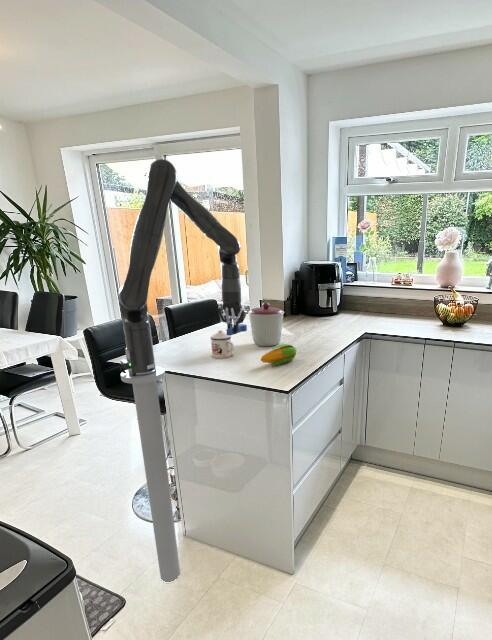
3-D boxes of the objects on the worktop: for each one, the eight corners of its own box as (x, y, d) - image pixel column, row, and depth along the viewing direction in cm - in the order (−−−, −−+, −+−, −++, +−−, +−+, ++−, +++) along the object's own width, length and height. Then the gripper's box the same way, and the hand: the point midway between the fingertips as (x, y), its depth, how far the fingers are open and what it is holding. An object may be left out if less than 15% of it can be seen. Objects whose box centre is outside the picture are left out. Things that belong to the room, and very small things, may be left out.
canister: (270, 350, 191) (269, 306, 184) (241, 345, 199) (239, 303, 192) (291, 343, 205) (291, 301, 198) (263, 338, 214) (262, 299, 207)
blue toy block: (232, 335, 159) (232, 329, 158) (224, 334, 160) (224, 329, 160) (248, 330, 170) (248, 324, 169) (240, 329, 171) (240, 323, 170)
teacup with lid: (207, 356, 180) (205, 330, 176) (222, 352, 187) (220, 327, 183) (226, 360, 174) (224, 334, 170) (240, 356, 181) (239, 330, 177)
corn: (300, 342, 173) (267, 351, 159) (301, 359, 175) (268, 369, 161) (288, 341, 177) (254, 349, 163) (289, 357, 180) (256, 367, 166)
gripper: (211, 290, 156) (213, 333, 162) (241, 292, 151) (243, 336, 157) (221, 288, 163) (224, 330, 168) (251, 290, 158) (252, 333, 163)
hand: (233, 333), depth 163 cm, fingers closed on blue toy block, 2 cm apart
